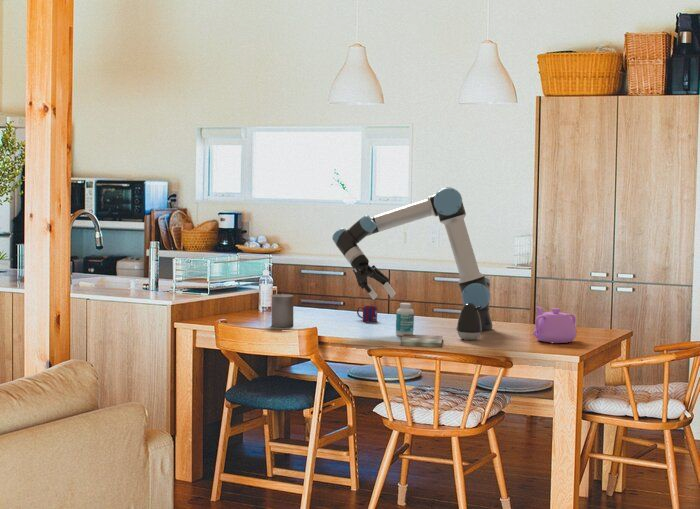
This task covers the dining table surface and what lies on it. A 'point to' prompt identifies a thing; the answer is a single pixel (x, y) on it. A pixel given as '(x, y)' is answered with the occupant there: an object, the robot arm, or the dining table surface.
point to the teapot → (554, 326)
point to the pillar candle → (282, 310)
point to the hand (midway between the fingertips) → (384, 296)
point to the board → (421, 340)
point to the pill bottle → (404, 320)
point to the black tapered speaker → (469, 322)
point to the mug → (368, 313)
